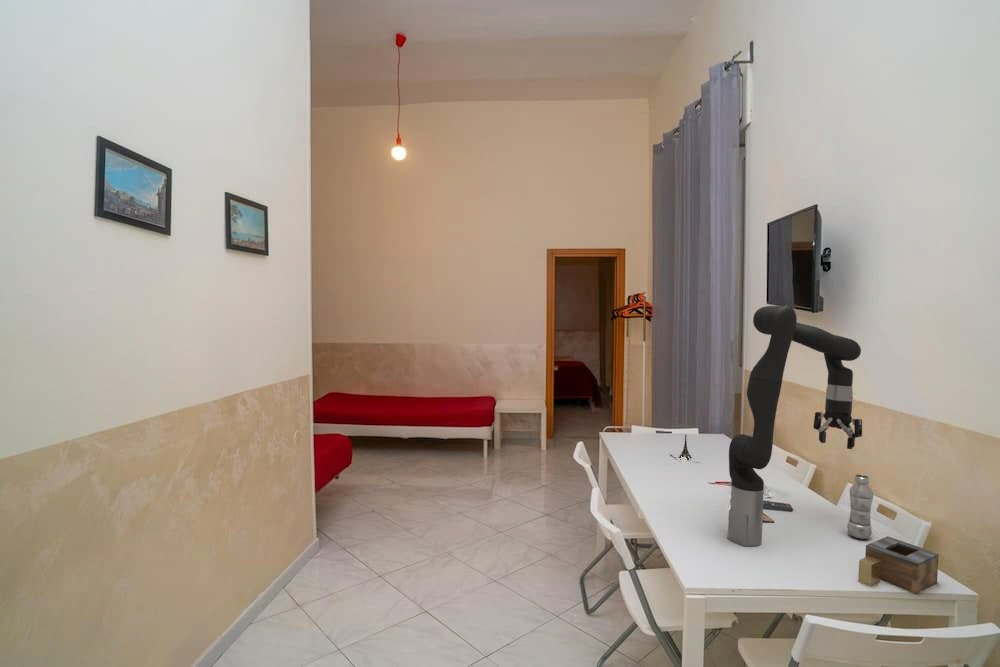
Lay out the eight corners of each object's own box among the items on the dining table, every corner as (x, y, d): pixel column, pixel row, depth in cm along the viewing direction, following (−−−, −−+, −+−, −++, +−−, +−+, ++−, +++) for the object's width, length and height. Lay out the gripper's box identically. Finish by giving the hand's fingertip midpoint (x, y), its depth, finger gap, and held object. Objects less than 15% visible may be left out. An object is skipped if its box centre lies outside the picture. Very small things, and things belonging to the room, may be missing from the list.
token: (870, 586, 136) (871, 564, 136) (858, 581, 139) (859, 559, 139) (880, 582, 139) (881, 560, 138) (867, 577, 141) (868, 555, 141)
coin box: (915, 594, 133) (917, 563, 133) (864, 573, 143) (865, 545, 143) (937, 582, 139) (938, 553, 138) (886, 563, 149) (887, 536, 149)
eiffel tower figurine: (667, 455, 261) (668, 429, 261) (687, 454, 262) (688, 428, 261) (680, 463, 246) (681, 436, 246) (700, 463, 247) (701, 436, 247)
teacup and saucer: (745, 494, 205) (746, 484, 205) (752, 490, 211) (753, 480, 210) (769, 500, 199) (769, 490, 199) (776, 495, 204) (776, 485, 204)
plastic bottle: (842, 535, 168) (845, 475, 167) (853, 531, 171) (856, 472, 170) (864, 543, 162) (867, 480, 161) (875, 539, 165) (878, 477, 164)
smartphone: (754, 505, 192) (776, 521, 177) (754, 507, 192) (776, 524, 177) (734, 504, 192) (754, 521, 177) (734, 507, 192) (754, 523, 177)
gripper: (811, 395, 178) (808, 442, 179) (856, 402, 166) (853, 452, 166) (822, 394, 182) (820, 439, 182) (868, 401, 170) (865, 449, 170)
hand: (836, 445), depth 174 cm, fingers open, 8 cm apart
